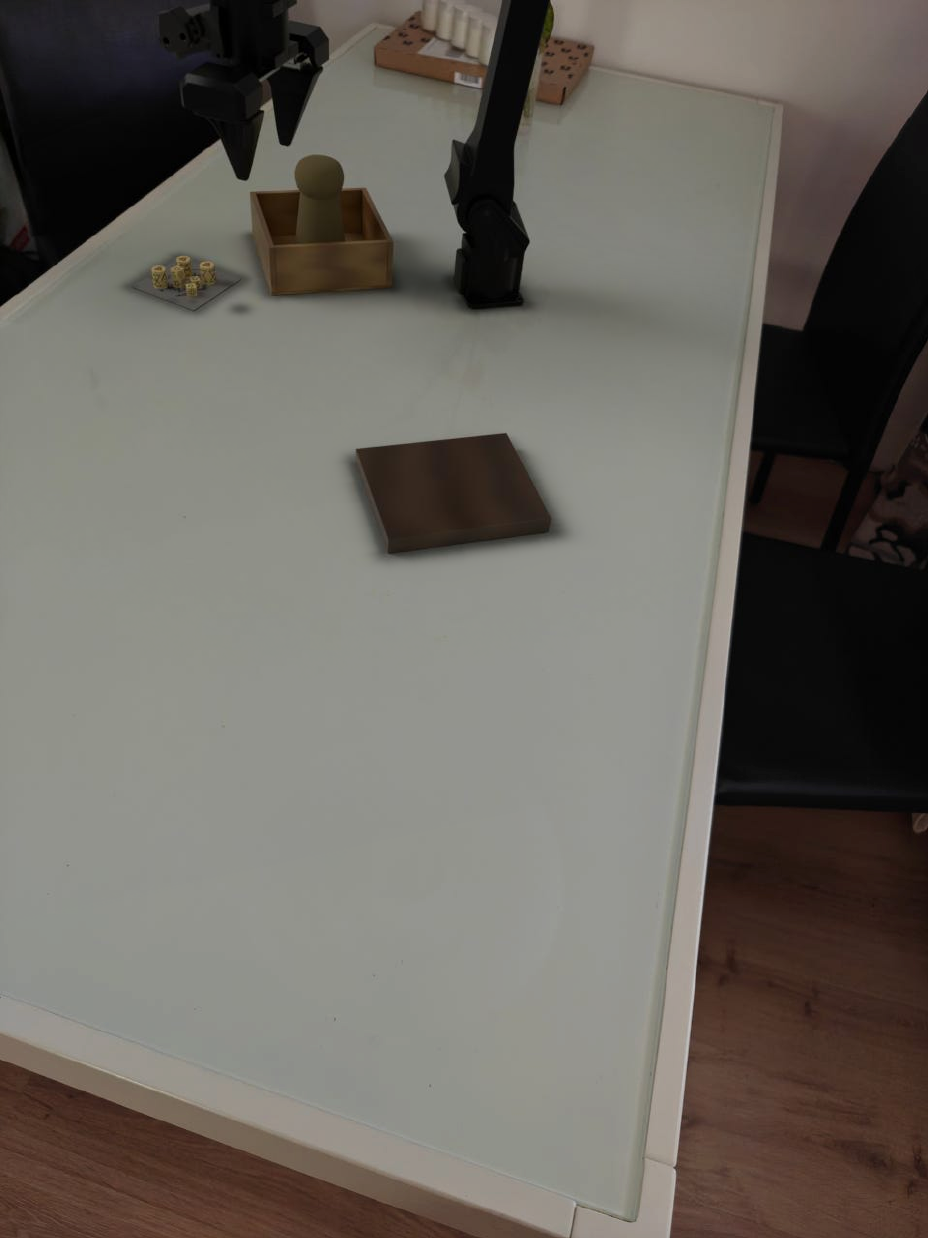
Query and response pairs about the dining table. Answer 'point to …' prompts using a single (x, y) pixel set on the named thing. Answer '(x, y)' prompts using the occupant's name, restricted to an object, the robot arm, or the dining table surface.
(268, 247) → the wooden box
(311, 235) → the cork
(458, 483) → the walnut board
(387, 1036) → the dining table surface
